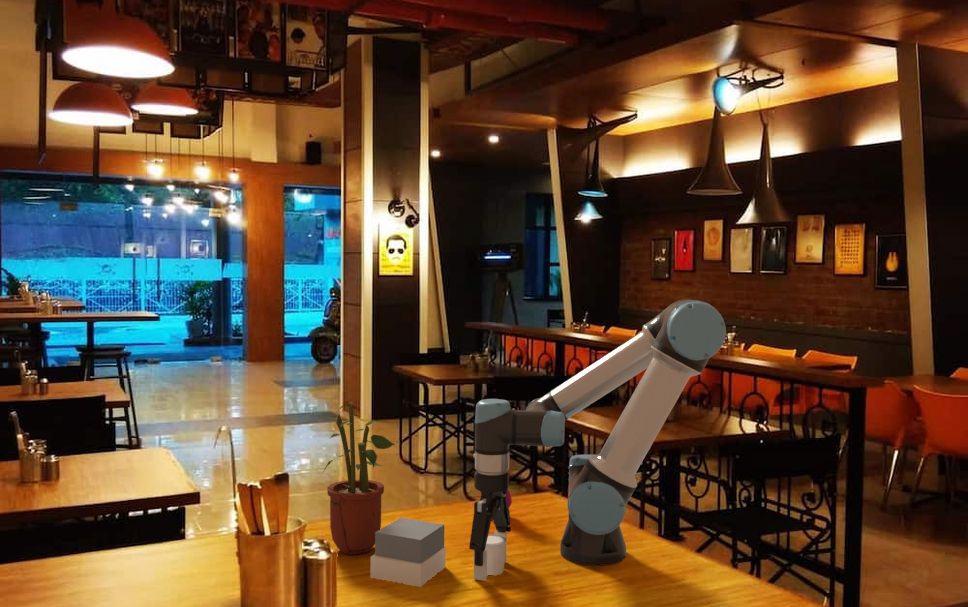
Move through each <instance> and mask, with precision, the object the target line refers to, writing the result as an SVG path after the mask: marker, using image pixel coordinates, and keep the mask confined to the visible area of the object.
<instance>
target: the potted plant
mask: <svg viewBox="0 0 968 607" xmlns="http://www.w3.org/2000/svg"><path fill="white" fill-rule="evenodd" d="M347 405H348V416H349V419H348V420H345V421H343V420H342V418H341V416H340V414H339V413H338V415H337V419H336V422H335V424H336V426H337V429H338V431H339V433H333V434H332V435H330V437H329V439H331V438H335V437H338V436H340V438H341V443H342V448H343V451H344V452H343V453H344V454H343V455H342V454H341V455H337V458H342V457H344V460H345V468H346V473H347V480H341V481H338V482H333V483H331V484H329V485H328V486H327V489H326V491H327V496H328V497H329V504H330V505H329V515H330V516H329V520H330V522H329V523H330V525H329V527H330V532H331V537H332V541H333V543H334V545H335V547H337V549H338V550H339V551H341V552H342V553H344V554H347V555H361V554H364V553H365V554H366V553H367V552H369V551H370V550H372V548H374V547H375V532H377V531H378V530H380V529H382V528H381V527H382V495H383V494H384V492H385V485H384V484H383V483H382V482H379V481H377V480H373V479H372V480H370V479H369V472H368V470H369V469H368V465H369V466H372V467H373V469H374V468H375V466H378V467H384V468H385V466H384V465H381V464H379V463H378V462H377V460H378V454H377V453H376V452H375V450H374V449H371V448H369V449H367V444H368V443H372V445H373V446H374V447H375V448H376V449H378V450H379V449H380V450H385V449H389V448H391V447H392V446H396V444H395V443H393V442H392V441H391V440H389V439H388V438H387V437H385V436H384V435H380V434H372V435H370V440H368V438H369V437H368V436H369V433H370V427H369V426H370V425H371V424H373V422H376V421H377V420H376V419H375V420H370V421H368V422H366V423H365V424H364V425H365V427H364V428H359V429H356V430H355V414H354V403H352V402H348V403H347ZM345 406H346V404H343V405H342V406H340V407H339V409H338V410H337V411H336V412H338V411H339V410H341V409H342V408H343V407H345ZM344 425H346V426H349V443H350V444H348V440H347V435H346V434H347V433H346V430H345V427H344ZM361 431H364V432H363V437H362V442H359V443H357V448H358V456H359V463H358V464H357V463H356V451H355V447H356V446H355V439H358V437H356V438H355V432H361ZM367 442H368V443H367ZM348 445H349V446H348ZM349 448H350V449H349ZM334 460H335V458H333V459H332V460H329V461H328V462H327V463H326V466H325V467H324V469H323V471H322V473H324V471H325V470H326V468H327V467H328V466H329V465H330V464H331V463H332V462H333V461H334ZM367 460H368V461H367ZM356 469H357V471H359V474H358V476H359V477H358V478H359V479H356V478H357V477H356Z"/></svg>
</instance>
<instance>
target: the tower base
mask: <svg viewBox="0 0 968 607" xmlns="http://www.w3.org/2000/svg"><path fill="white" fill-rule="evenodd" d="M446 549H447V548H446V546H444V547H443V548H442V549H440V550H439V551H438V552H436V553H435V554H433V555H432V556H430V557H429V558H428V559H426V560H425V561H423V562H422V563H421V564H420V563H415V562H409V561H404V560H398V559H393V558H387V557H382V556H376V555H375V553H374V554H372V555H371V556H370V575H369V576H370V579H373V578H376V579H375V580H379V579H382V580H381V581H384V580H387V581H386V582H390V581H393V582H392V583H395V582H398V583H397V584H401V583H403V584H402V585H408V586H412V587H419V588H422V587H423V586H424V585H425V584H426V583H428V582H429V581H431V579H433V578H434V577H435V576H436V575H437V573H438V572H439V573H440V572H442V571H443V570H444V569H445V568H446ZM443 568H444V569H443ZM439 573H438V574H439ZM432 577H433V578H432ZM428 580H429V581H428ZM427 581H428V582H427Z"/></svg>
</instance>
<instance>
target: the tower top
mask: <svg viewBox="0 0 968 607" xmlns="http://www.w3.org/2000/svg"><path fill="white" fill-rule="evenodd" d="M443 547H445V524H444V523H437V522H432V521H431V522H429V521H424V520H419V519H412V518H405V517H400V518H398V519H396V520H394V521H393V522H391V523H389V524H387V525H385V526H384V527H382V528H380V530H378V531H377V532H375V545H374V554H375V555H376V556H382V557H387V558H393V559H398V560H404V561H409V562H415V563H420V564H421V563H422V562H423V561H425V560H426V559H428V558H429V557H430V556H432V555H433V554H435V553H436V552H438V551H439V550H440V549H442V548H443Z"/></svg>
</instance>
